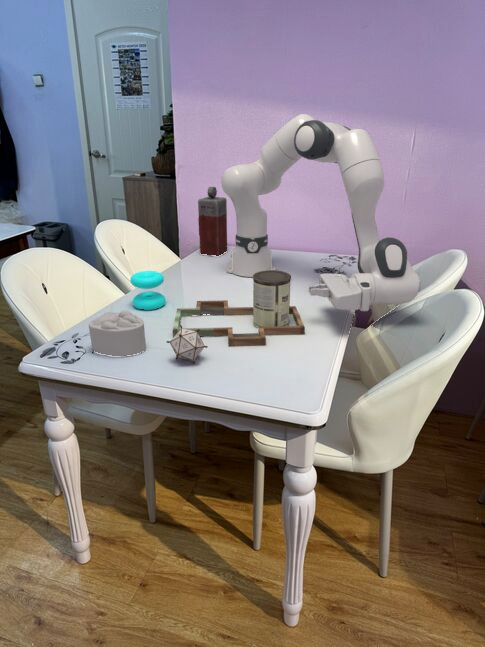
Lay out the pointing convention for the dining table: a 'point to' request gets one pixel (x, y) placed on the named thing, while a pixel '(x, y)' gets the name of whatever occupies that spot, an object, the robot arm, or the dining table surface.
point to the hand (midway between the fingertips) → (309, 290)
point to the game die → (187, 344)
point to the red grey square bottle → (212, 223)
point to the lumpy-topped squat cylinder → (117, 334)
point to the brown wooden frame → (233, 339)
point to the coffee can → (271, 298)
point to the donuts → (147, 282)
